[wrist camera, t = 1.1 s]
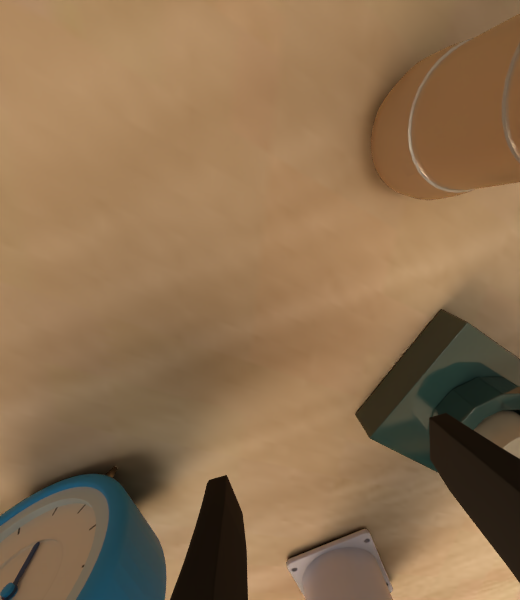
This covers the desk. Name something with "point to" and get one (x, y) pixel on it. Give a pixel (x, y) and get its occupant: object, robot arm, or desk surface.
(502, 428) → the cream cylinder plug
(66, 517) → the alarm clock
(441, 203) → the desk surface
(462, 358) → the button base
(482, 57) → the copper metal bottle
